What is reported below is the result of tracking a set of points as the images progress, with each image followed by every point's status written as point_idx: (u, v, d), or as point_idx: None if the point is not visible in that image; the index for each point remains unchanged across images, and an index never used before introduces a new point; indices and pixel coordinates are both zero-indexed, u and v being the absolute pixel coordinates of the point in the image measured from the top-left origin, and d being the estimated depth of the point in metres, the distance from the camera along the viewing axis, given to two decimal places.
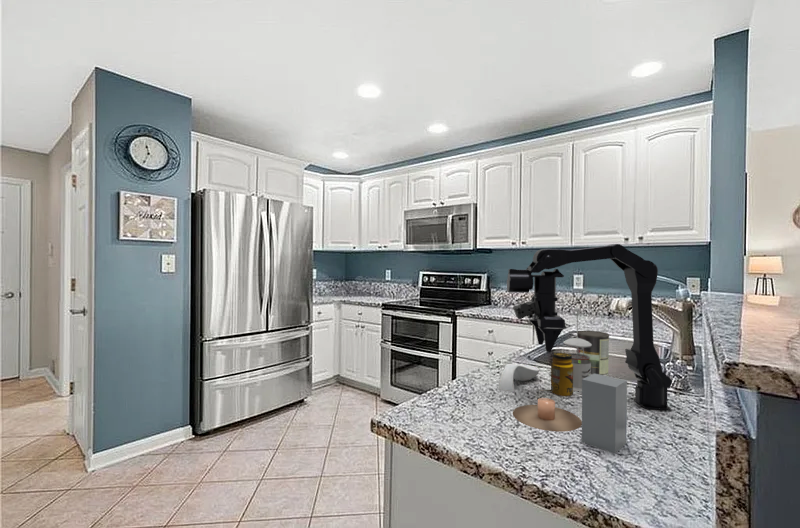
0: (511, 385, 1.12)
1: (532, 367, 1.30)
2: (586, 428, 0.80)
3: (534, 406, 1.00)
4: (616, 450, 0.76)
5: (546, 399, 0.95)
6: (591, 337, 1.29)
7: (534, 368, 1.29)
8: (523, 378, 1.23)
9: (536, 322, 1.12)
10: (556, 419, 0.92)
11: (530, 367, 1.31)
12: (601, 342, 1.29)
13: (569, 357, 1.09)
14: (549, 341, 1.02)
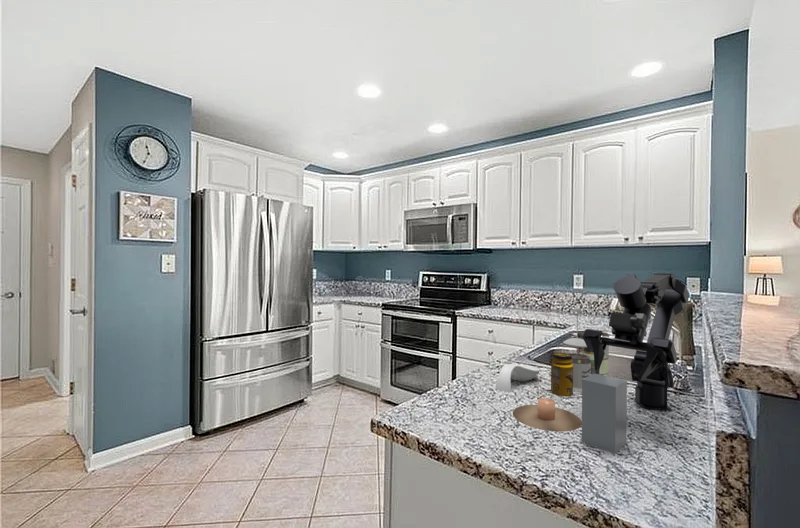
0: (508, 385, 1.12)
1: (533, 367, 1.29)
2: (586, 428, 0.80)
3: (534, 406, 1.00)
4: (616, 450, 0.76)
5: (546, 399, 0.95)
6: None
7: (535, 368, 1.28)
8: (523, 378, 1.22)
9: (600, 345, 0.92)
10: (556, 419, 0.92)
11: (531, 367, 1.30)
12: None
13: (569, 357, 1.09)
14: (648, 369, 0.83)
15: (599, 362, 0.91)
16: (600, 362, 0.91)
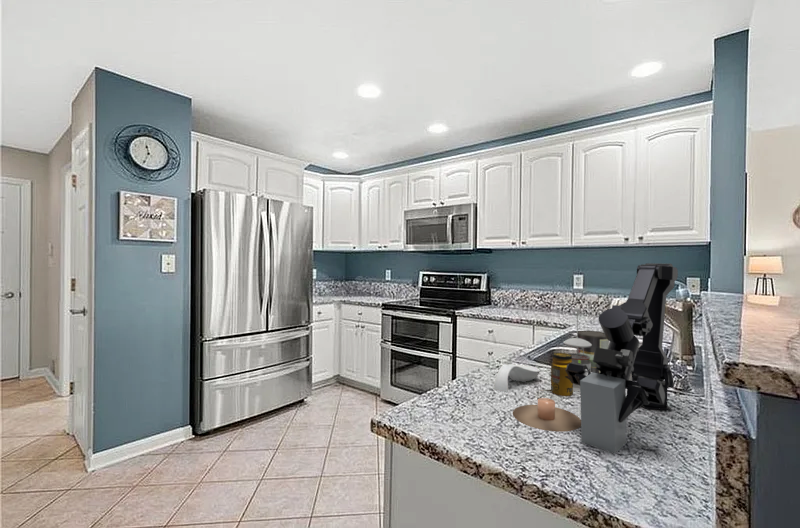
0: (505, 385, 1.12)
1: (533, 368, 1.29)
2: (585, 429, 0.80)
3: (534, 406, 1.00)
4: (616, 450, 0.76)
5: (546, 399, 0.95)
6: (591, 337, 1.29)
7: (535, 369, 1.27)
8: (522, 379, 1.22)
9: None
10: (556, 419, 0.92)
11: (531, 368, 1.29)
12: (601, 341, 1.29)
13: (569, 357, 1.09)
14: (628, 409, 0.78)
15: None
16: None
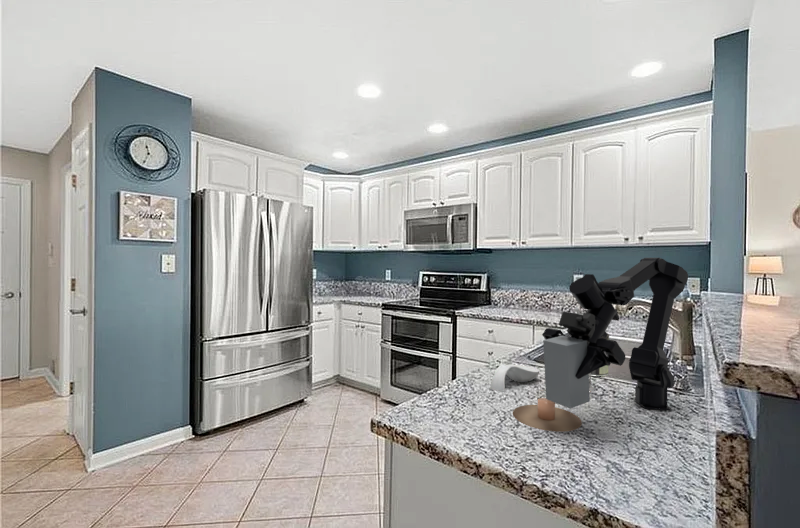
0: (502, 385, 1.12)
1: (534, 369, 1.28)
2: (548, 384, 0.88)
3: (534, 406, 1.00)
4: (572, 403, 0.83)
5: (546, 399, 0.95)
6: None
7: (535, 370, 1.27)
8: (521, 379, 1.22)
9: None
10: (556, 419, 0.92)
11: (532, 369, 1.29)
12: None
13: None
14: (586, 367, 0.84)
15: None
16: None
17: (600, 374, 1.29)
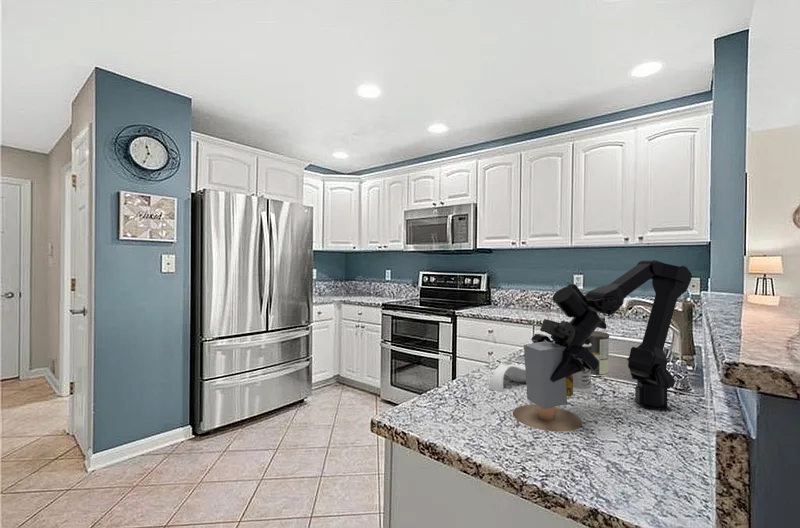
0: (500, 385, 1.12)
1: None
2: (528, 385, 0.95)
3: (534, 406, 1.00)
4: (546, 404, 0.90)
5: None
6: (591, 337, 1.29)
7: None
8: (520, 379, 1.22)
9: None
10: (556, 419, 0.92)
11: None
12: (601, 342, 1.29)
13: None
14: (561, 372, 0.90)
15: None
16: None
17: (600, 374, 1.29)
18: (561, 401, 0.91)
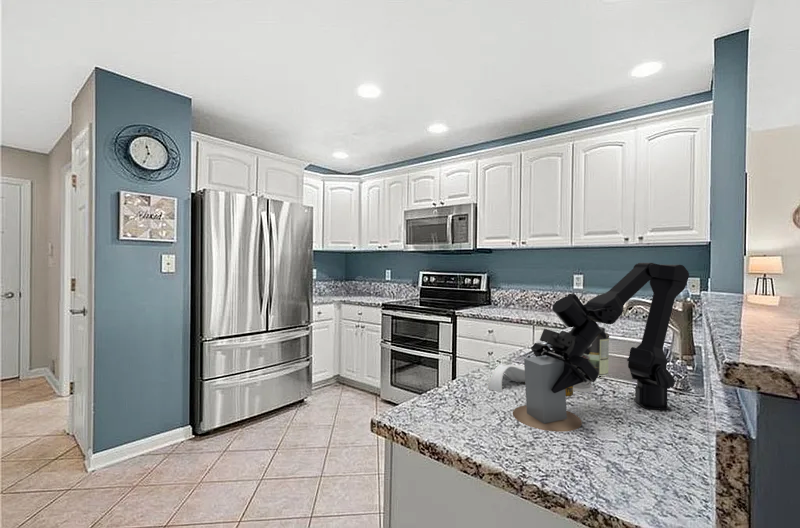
0: (499, 385, 1.12)
1: None
2: (528, 400, 0.95)
3: None
4: (546, 419, 0.90)
5: None
6: None
7: None
8: (520, 379, 1.21)
9: None
10: None
11: None
12: (601, 341, 1.29)
13: None
14: (562, 383, 0.89)
15: None
16: None
17: (600, 374, 1.29)
18: (561, 416, 0.91)
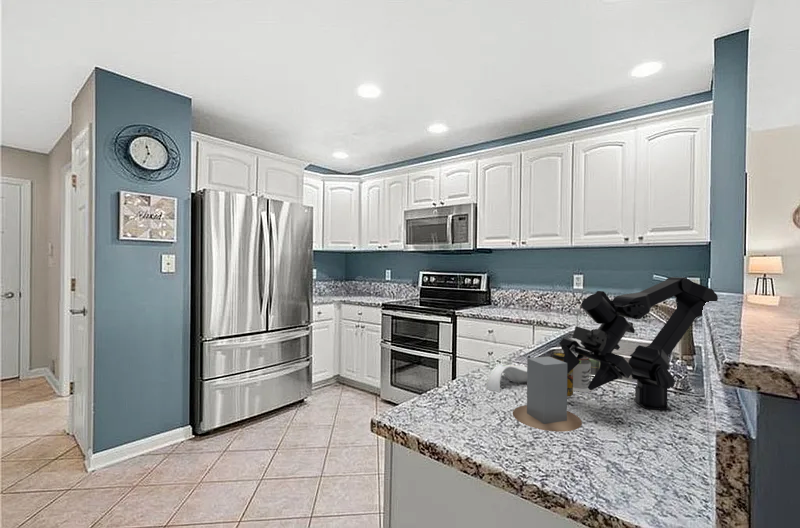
0: (497, 385, 1.12)
1: None
2: (529, 400, 0.95)
3: None
4: (546, 419, 0.90)
5: None
6: None
7: None
8: (519, 380, 1.21)
9: (571, 354, 1.02)
10: None
11: None
12: None
13: None
14: (599, 380, 0.92)
15: (567, 369, 1.01)
16: (569, 369, 1.01)
17: None
18: (561, 417, 0.91)
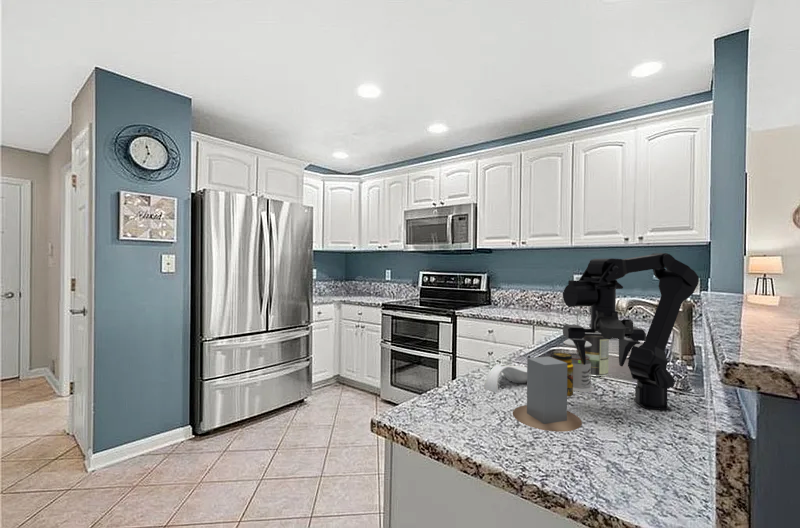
0: (495, 385, 1.12)
1: None
2: (529, 400, 0.95)
3: None
4: (546, 419, 0.90)
5: None
6: (591, 337, 1.29)
7: None
8: (518, 380, 1.21)
9: None
10: None
11: None
12: (601, 341, 1.29)
13: (569, 357, 1.09)
14: None
15: None
16: None
17: (600, 374, 1.29)
18: (561, 417, 0.91)
